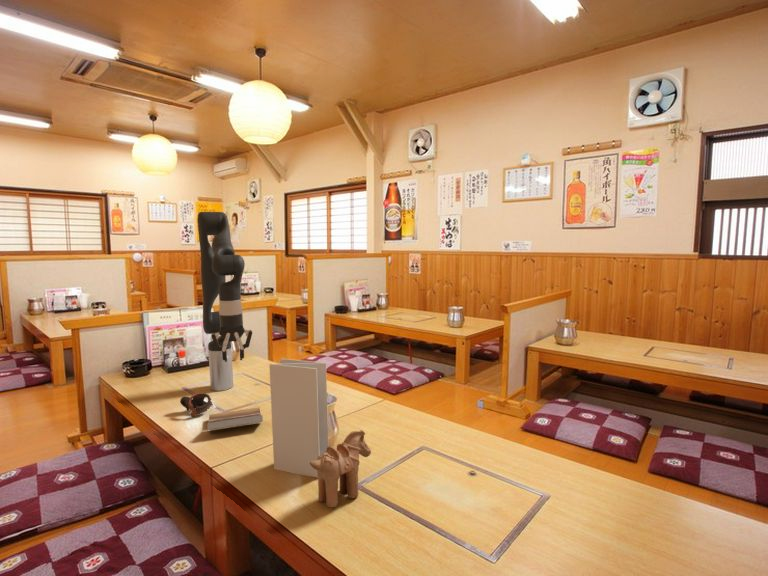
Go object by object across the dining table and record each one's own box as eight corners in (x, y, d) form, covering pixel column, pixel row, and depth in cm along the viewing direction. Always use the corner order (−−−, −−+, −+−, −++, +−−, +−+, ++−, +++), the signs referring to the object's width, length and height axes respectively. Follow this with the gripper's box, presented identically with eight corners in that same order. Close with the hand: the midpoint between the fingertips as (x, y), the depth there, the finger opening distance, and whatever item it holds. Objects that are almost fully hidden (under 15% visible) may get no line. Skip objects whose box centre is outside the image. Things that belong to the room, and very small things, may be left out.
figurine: (379, 487, 108) (378, 431, 106) (321, 517, 96) (319, 455, 94) (361, 475, 113) (360, 422, 111) (304, 503, 102) (302, 444, 100)
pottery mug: (216, 407, 162) (216, 392, 158) (206, 427, 154) (206, 412, 150) (185, 400, 161) (184, 385, 157) (173, 420, 154) (172, 405, 149)
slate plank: (208, 430, 141) (208, 424, 141) (261, 422, 147) (261, 416, 147) (207, 429, 134) (207, 423, 135) (262, 421, 140) (262, 414, 141)
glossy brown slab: (209, 420, 149) (209, 413, 149) (259, 412, 155) (259, 406, 155) (209, 429, 142) (208, 422, 142) (261, 420, 148) (260, 414, 148)
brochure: (329, 467, 117) (326, 362, 114) (320, 478, 112) (316, 368, 109) (285, 459, 122) (280, 358, 119) (274, 469, 117) (269, 364, 113)
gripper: (251, 309, 152) (254, 355, 154) (209, 312, 147) (211, 360, 149) (253, 312, 145) (255, 361, 147) (208, 315, 140) (211, 365, 142)
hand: (233, 360), depth 148 cm, fingers open, 4 cm apart
